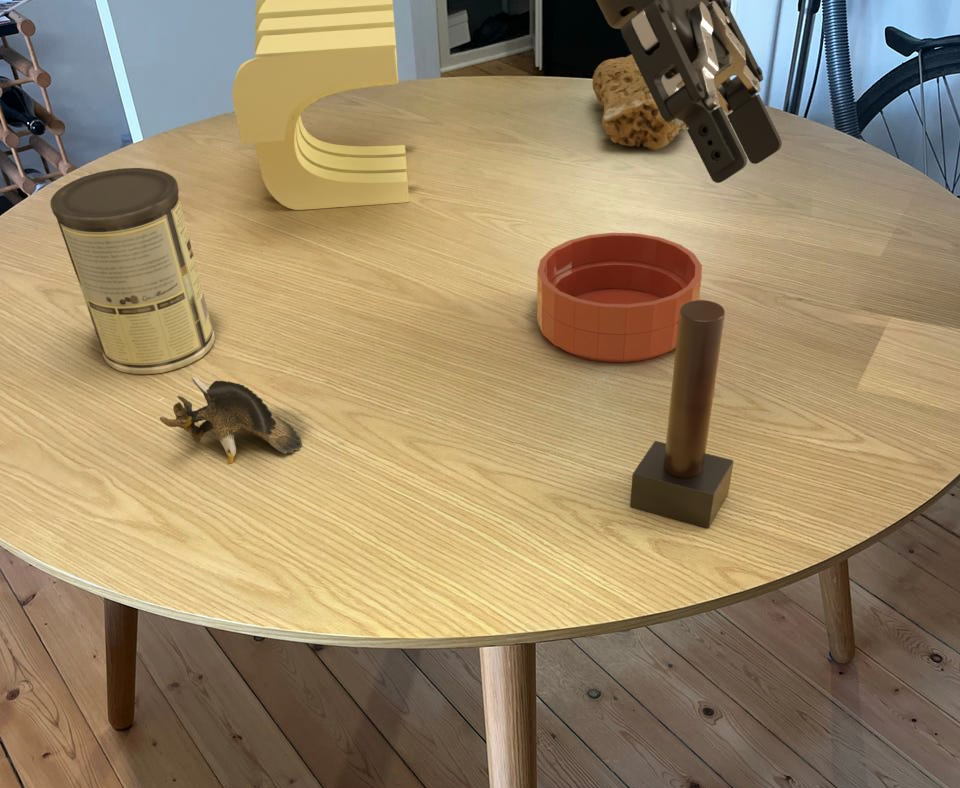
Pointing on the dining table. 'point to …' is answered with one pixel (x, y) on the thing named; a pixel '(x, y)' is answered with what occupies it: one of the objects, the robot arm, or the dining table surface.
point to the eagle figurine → (233, 417)
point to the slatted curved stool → (306, 78)
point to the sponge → (630, 106)
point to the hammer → (688, 429)
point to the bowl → (615, 295)
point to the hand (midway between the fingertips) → (751, 165)
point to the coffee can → (135, 268)
